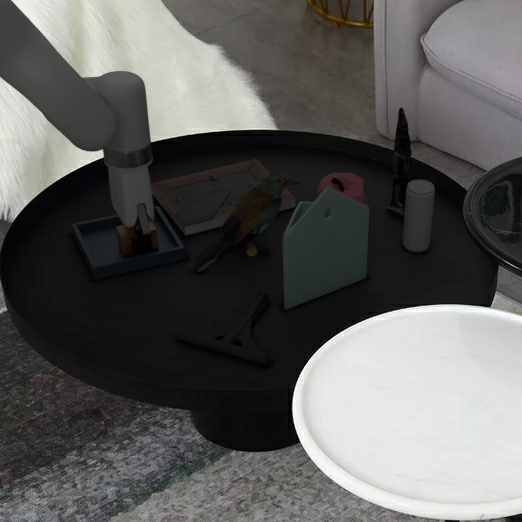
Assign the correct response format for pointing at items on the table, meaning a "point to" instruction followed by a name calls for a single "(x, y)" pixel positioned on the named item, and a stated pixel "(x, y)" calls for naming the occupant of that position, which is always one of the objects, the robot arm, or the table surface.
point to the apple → (344, 185)
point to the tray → (107, 251)
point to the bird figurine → (247, 221)
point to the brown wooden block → (125, 239)
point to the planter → (324, 247)
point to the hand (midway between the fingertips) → (139, 249)
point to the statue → (401, 166)
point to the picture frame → (211, 195)
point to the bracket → (233, 334)
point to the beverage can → (418, 215)
